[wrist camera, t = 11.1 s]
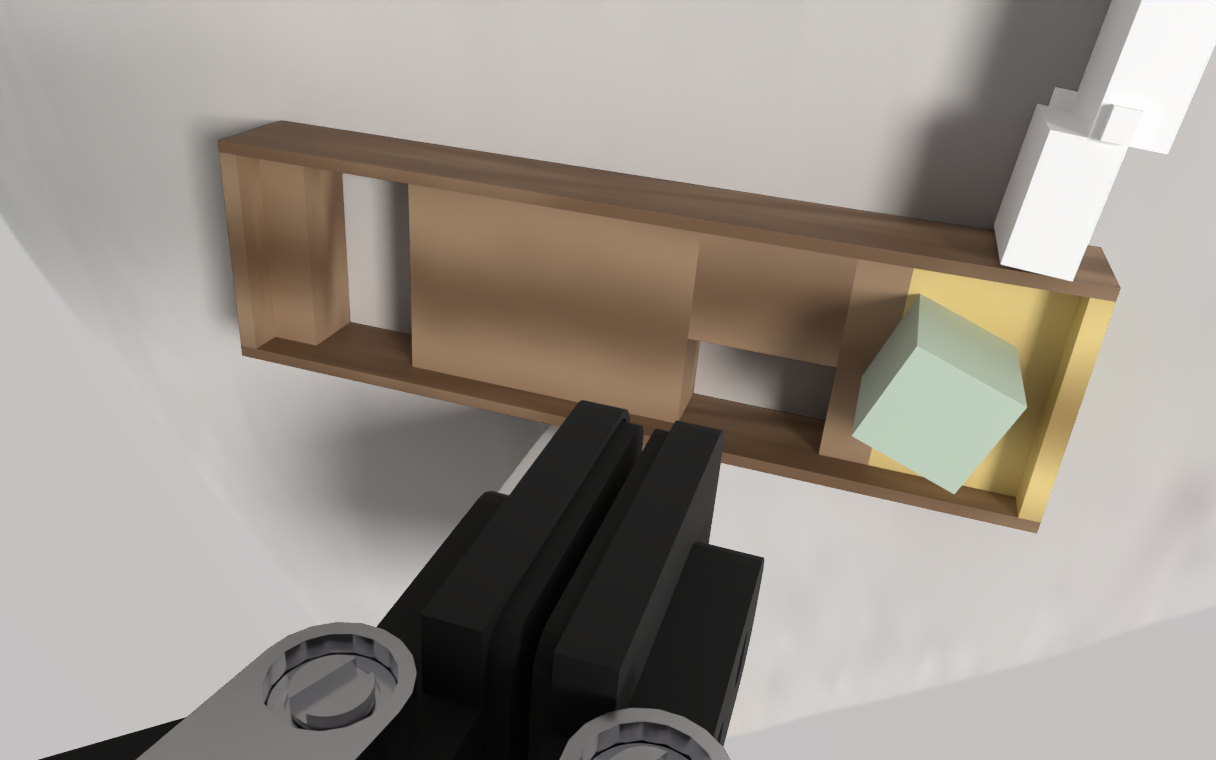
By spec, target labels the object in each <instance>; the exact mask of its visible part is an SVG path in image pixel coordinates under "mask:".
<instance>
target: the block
mask: <svg viewBox="0 0 1216 760" xmlns="http://www.w3.org/2000/svg"><path fill="white" fill-rule="evenodd" d="M1026 408H1027V403H1026V398H1025V392H1024V386H1023V380H1022V375H1021V369H1020V363H1019V357H1018V352H1017V347H1015V346H1014V345H1012V344H1010V343H1008V342H1006V341H1005V340H1003V339H1001V338H999V337H997V336H996V335H994V334H992V333H990V332H988V331H987V330H985V329H983V328H981V327H979V326H978V325H976V324H974V323H972V322H970V321H969V320H967V319H965V318H963V317H961V316H960V315H958V314H956V313H954V312H953V311H951V310H949V309H947V308H945V307H944V306H942V305H940V304H938V303H936V302H935V301H933V300H931V299H929V298H927V297H926V296H924V295H922V294H919V296H918V297H917V299H916V300H915V301H914V303H913V304H912V306H911V307H910V309H909V310H908V311H907V313H906V314H905V316H904V317H903V319H902V320H901V321H900V323H899V324H898V326H897V327H896V328H895V330H894V331H893V333H892V334H891V336H890V337H889V338H888V340H887V341H886V343H885V344H884V345H883V347H882V348H881V350H880V351H879V353H878V354H877V355H876V357H875V358H874V360H873V361H872V363H871V364H870V365H869V367H868V368H867V370H866V371H865V372H864V374H863V375H862V378H861V384H860V390H859V396H858V402H857V407H856V413H855V419H854V425H853V431H852V437H854V438H856V439H858V440H859V441H861V442H863V443H865V444H866V445H868V446H870V447H872V448H874V449H875V450H877V451H879V452H881V453H882V454H884V455H886V456H888V457H889V458H891V459H893V460H895V461H896V462H898V463H900V464H902V465H903V466H905V467H907V468H909V469H910V470H912V471H914V472H916V473H917V474H919V475H921V476H923V477H925V478H926V479H928V480H930V481H932V482H933V483H935V484H937V485H939V486H940V487H942V488H944V489H946V490H947V491H949V492H951V493H953V494H955V493H956V492H957V491H958V489H959V488H960V487H961V486H962V485H963V483H964V482H965V481H966V480H967V479H968V477H969V476H970V475H971V474H972V473H973V472H974V470H975V469H976V468H977V467H978V466H979V464H980V463H981V462H982V461H983V460H984V458H985V457H986V456H987V455H988V454H989V452H990V451H991V450H992V449H993V448H994V446H995V445H996V444H997V443H998V442H999V441H1000V439H1001V438H1002V437H1003V436H1004V435H1005V433H1006V432H1007V431H1008V430H1009V429H1010V427H1011V426H1012V425H1013V424H1014V423H1015V421H1016V420H1017V419H1018V418H1019V417H1020V415H1021V414H1022V413H1023V412H1024V411H1025V410H1026Z"/></svg>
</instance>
